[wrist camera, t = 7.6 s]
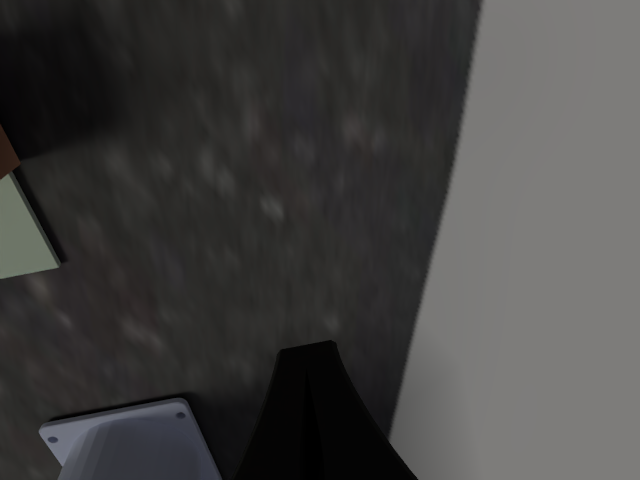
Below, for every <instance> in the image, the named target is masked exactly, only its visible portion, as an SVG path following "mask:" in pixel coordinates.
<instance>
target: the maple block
mask: <svg viewBox="0 0 640 480" xmlns="http://www.w3.org/2000/svg"><path fill="white" fill-rule="evenodd" d="M20 164H21V163H20V161H19V159H18V157H17V155H16V153H15V151H14V149H13V147H12V145H11V143H10V141H9V139H8V138H7V136H6V134H5V132H4V130H3V128H2V126H1V124H0V180H1V179H2V178H4V177H5V176H6V175H7V174H9V173H10V172H11V171H12V170H14V169H15V168H16V167H18V166H19V165H20Z"/></svg>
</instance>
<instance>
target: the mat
mask: <svg viewBox="0 0 640 480" xmlns="http://www.w3.org/2000/svg"><path fill="white" fill-rule="evenodd" d="M60 265H61V262H60V261H59V259H58V257H57V255H56V253H55V251H54V249H53V247H52V245H51V244H50V242H49V240H48V238H47V236H46V234H45V232H44V230H43V228H42V227H41V225H40V223H39V221H38V219H37V217H36V215H35V213H34V212H33V210H32V208H31V206H30V204H29V202H28V200H27V198H26V196H25V195H24V193H23V191H22V189H21V187H20V185H19V183H18V181H17V179H16V178H15V176H14V174H13V172H12V171H11V172H10V173H9V174H7V175H6V176H5V177H4V178H2V179H1V180H0V279H1V278H7V277H12V276H17V275H22V274H27V273H33V272H38V271H43V270H48V269H53V268H59V266H60Z"/></svg>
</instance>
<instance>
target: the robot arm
mask: <svg viewBox="0 0 640 480" xmlns="http://www.w3.org/2000/svg"><path fill="white" fill-rule="evenodd" d="M179 412H182V413H179ZM39 434H40V436H41V437H42V438H43V440H44V441H45V443H46V444H47V445H48V447H49V448H50V450H51V451H52V452H53V454H54V455H55V457H56V458H57V460H58V461H59V462H60V464H61V465H62V467H63V468H62V470H61V473H60V475H59V477H58V480H222V478H221V475H220V473H219V471H218V469H217V466H216V464H215V462H214V460H213V457H212V455H211V453H210V451H209V449H208V446H207V444H206V442H205V440H204V437H203V435H202V433H201V431H200V429H199V426H198V424H197V422H196V420H195V417H194V415H193V413H192V411H191V408H190V406H189V404H188V402H187V401H186V400H185V399H183V398H173V399H167V400H162V401H157V402H151V403H146V404H141V405H136V406H130V407H125V408H120V409H114V410H109V411H104V412H99V413H93V414H88V415H83V416H77V417H72V418H67V419H62V420H56V421H51V422H46V423H44V424H43V425H42V426H41V428H40V430H39ZM231 480H418V479H417V477H416V476H415V475H414V474H413V473H412V471H411V470H410V469H409V468H408V467H407V465H406V464H405V463H404V461H403V460H402V459H401V458H400V456H399V455H398V454H397V452H396V451H395V450H394V448H393V447H392V445H391V444H390V443H389V441H388V440H387V439H386V437H385V436H384V434H383V433H382V431H381V430H380V428H379V427H378V425H377V424H376V422H375V421H374V419H373V418H372V416H371V415H370V413H369V412H368V410H367V408H366V407H365V405H364V403H363V402H362V400H361V398H360V396H359V395H358V393H357V391H356V390H355V388H354V386H353V384H352V382H351V380H350V378H349V376H348V374H347V372H346V370H345V368H344V365H343V363H342V361H341V358H340V355H339V352H338V349H337V344H336V343H335V342H334V341H332V340H329V341H323V342H318V343H313V344H308V345H302V346H297V347H292V348H287V349H282V350H280V351H279V353H278V354H277V358H276V363H275V367H274V371H273V374H272V378H271V381H270V385H269V388H268V391H267V394H266V397H265V400H264V403H263V405H262V408H261V411H260V414H259V416H258V419H257V422H256V425H255V427H254V430H253V432H252V434H251V437H250V439H249V441H248V444H247V446H246V448H245V450H244V453H243V455H242V457H241V460H240V462H239V464H238V466H237V468H236V470H235V472H234V475H233V477H232V479H231Z"/></svg>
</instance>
